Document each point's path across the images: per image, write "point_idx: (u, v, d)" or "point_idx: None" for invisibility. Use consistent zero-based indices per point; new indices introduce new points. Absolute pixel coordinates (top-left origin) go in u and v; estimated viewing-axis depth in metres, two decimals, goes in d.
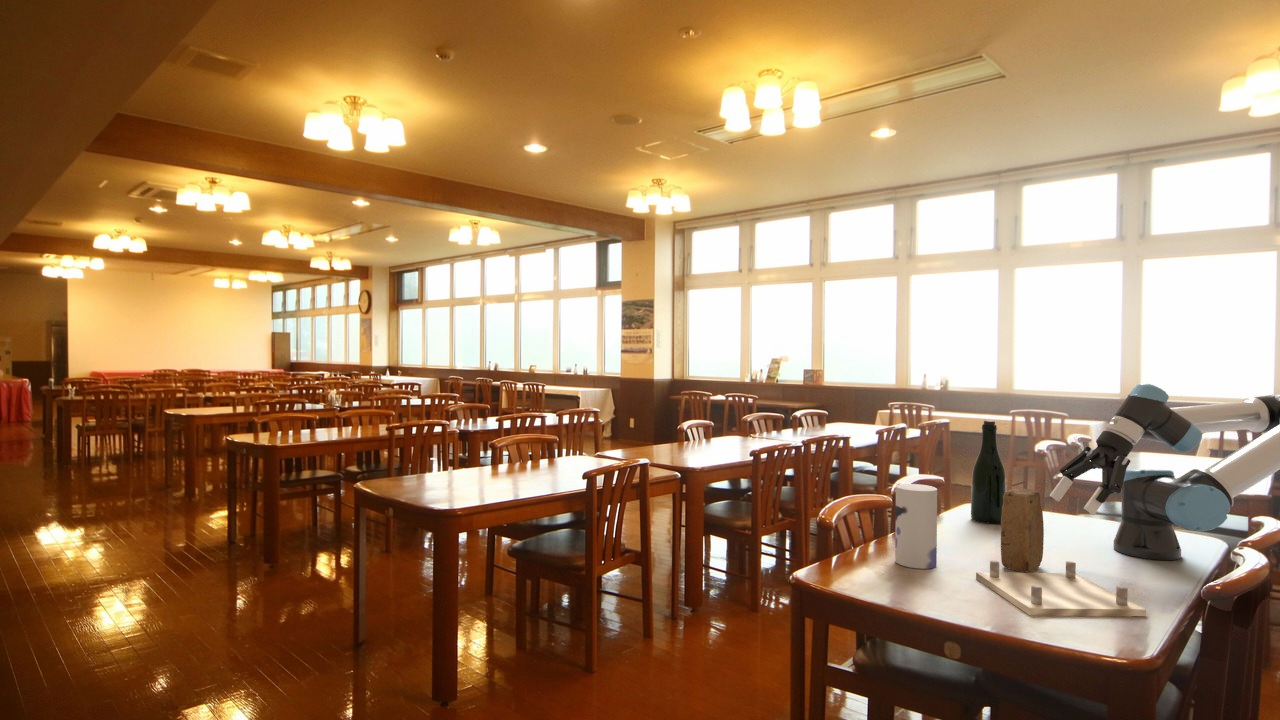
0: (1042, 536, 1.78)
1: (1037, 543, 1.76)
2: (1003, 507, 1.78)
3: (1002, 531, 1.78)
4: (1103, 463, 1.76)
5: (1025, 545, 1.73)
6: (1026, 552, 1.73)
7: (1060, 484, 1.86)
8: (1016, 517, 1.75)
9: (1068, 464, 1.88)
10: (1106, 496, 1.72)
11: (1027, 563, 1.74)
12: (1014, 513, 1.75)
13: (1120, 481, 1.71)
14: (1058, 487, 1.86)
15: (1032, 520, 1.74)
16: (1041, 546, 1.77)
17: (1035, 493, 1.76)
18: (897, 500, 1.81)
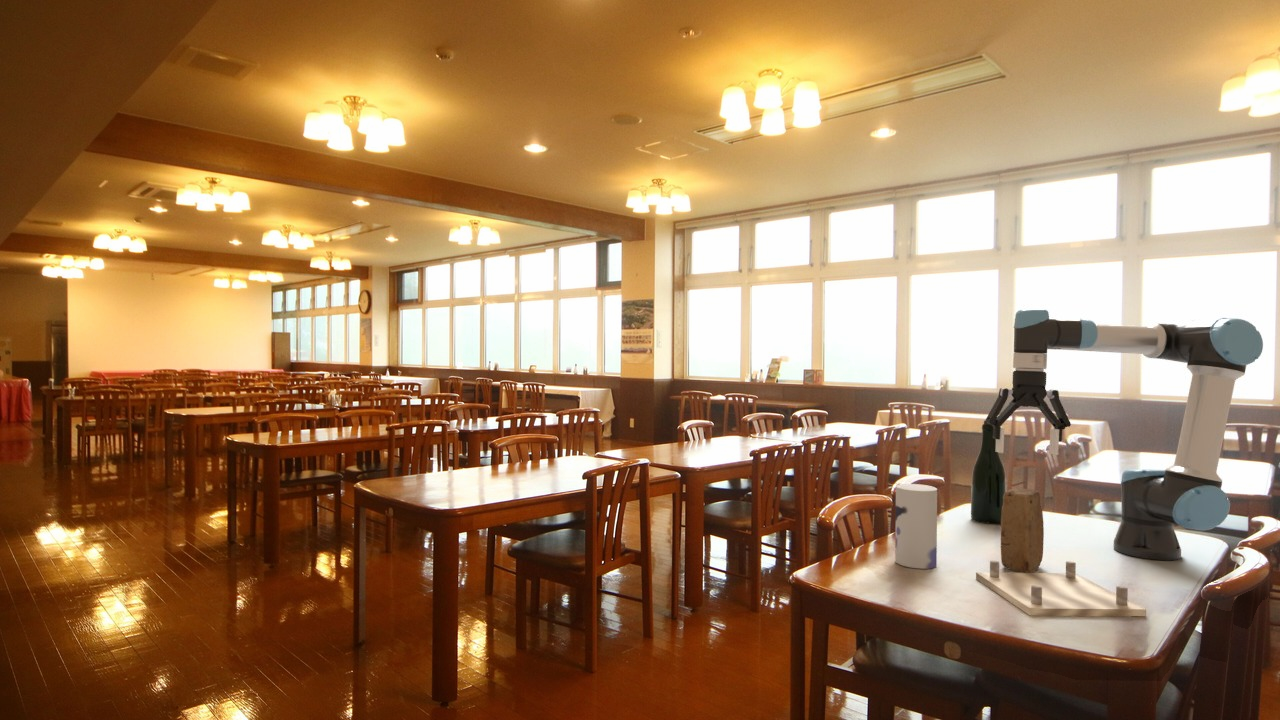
0: (1042, 536, 1.78)
1: (1037, 543, 1.76)
2: (1003, 507, 1.78)
3: (1002, 531, 1.78)
4: (1045, 404, 1.77)
5: (1025, 545, 1.73)
6: (1026, 552, 1.73)
7: None
8: (1015, 517, 1.75)
9: (996, 413, 1.77)
10: None
11: (1027, 563, 1.74)
12: (1014, 513, 1.75)
13: None
14: None
15: (1031, 520, 1.74)
16: (1041, 546, 1.77)
17: (1035, 493, 1.76)
18: (897, 500, 1.81)
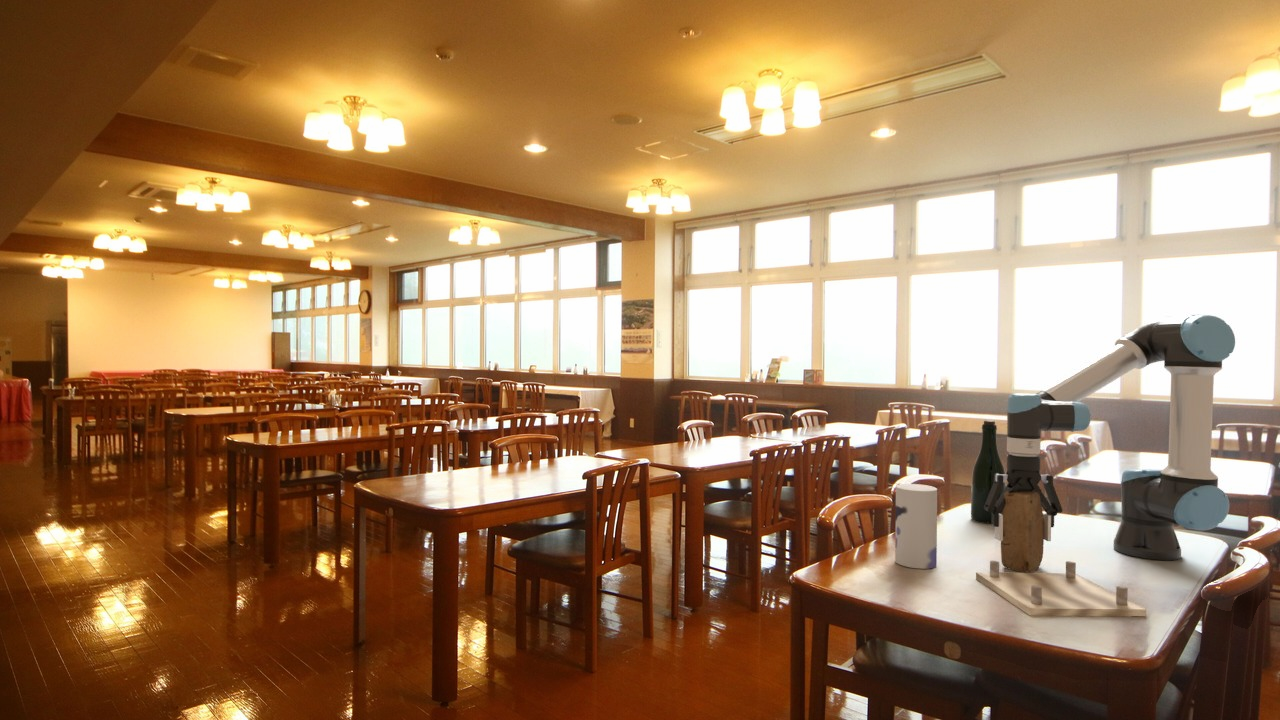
0: (1042, 536, 1.78)
1: (1037, 543, 1.76)
2: None
3: None
4: (1039, 489, 1.77)
5: (1026, 545, 1.73)
6: (1026, 552, 1.73)
7: None
8: (1016, 517, 1.75)
9: (994, 501, 1.77)
10: None
11: (1027, 563, 1.74)
12: (1014, 513, 1.75)
13: None
14: None
15: (1032, 520, 1.74)
16: (1041, 546, 1.77)
17: (1035, 493, 1.76)
18: (897, 500, 1.81)
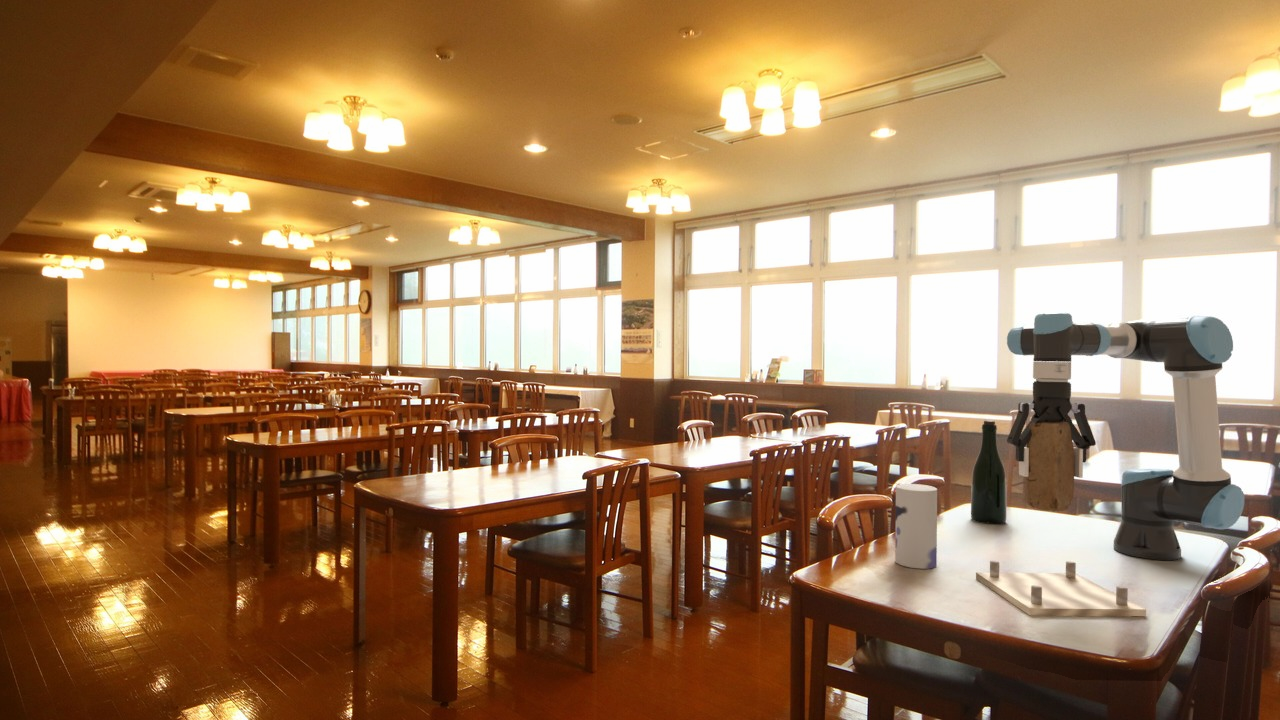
0: (1073, 472, 1.59)
1: (1067, 479, 1.57)
2: None
3: None
4: (1069, 419, 1.58)
5: (1054, 480, 1.54)
6: (1055, 488, 1.54)
7: None
8: (1043, 450, 1.56)
9: (1018, 432, 1.59)
10: None
11: (1056, 500, 1.55)
12: (1042, 445, 1.56)
13: None
14: None
15: (1061, 452, 1.55)
16: (1071, 483, 1.58)
17: (1065, 423, 1.57)
18: (897, 500, 1.81)
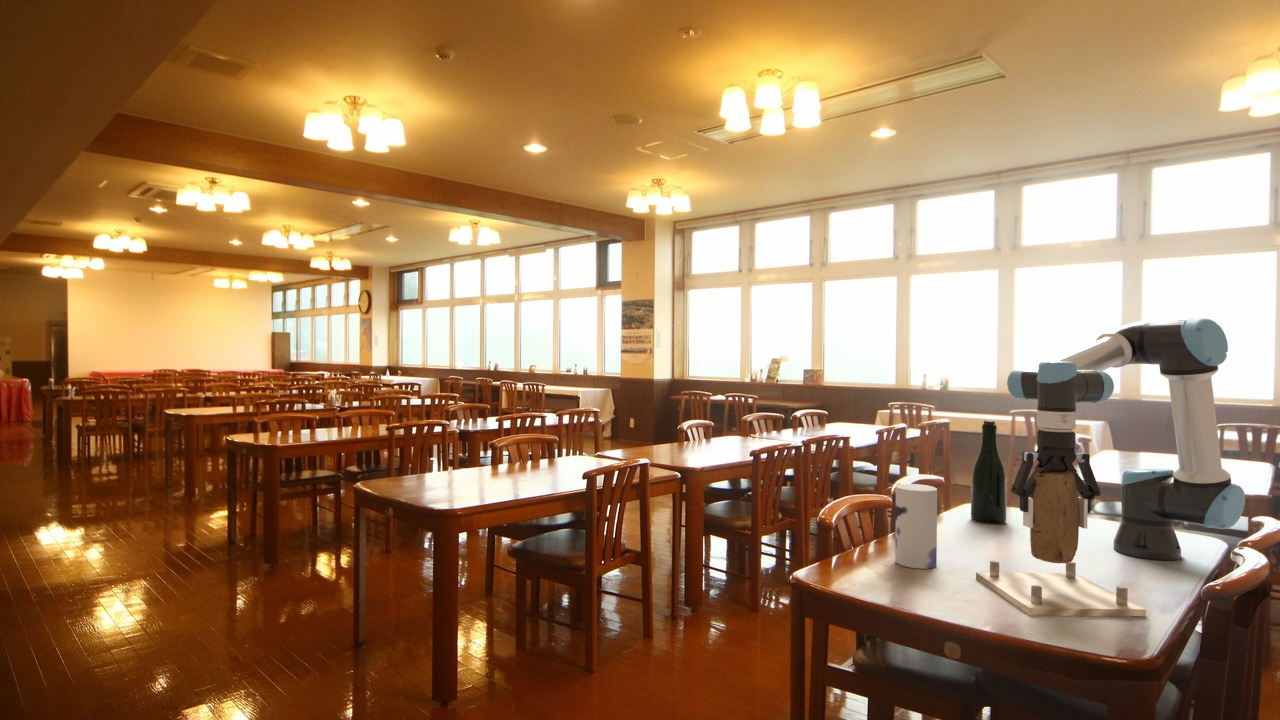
0: (1077, 522, 1.57)
1: (1072, 530, 1.55)
2: None
3: None
4: (1074, 470, 1.56)
5: (1059, 532, 1.52)
6: (1060, 540, 1.52)
7: None
8: (1048, 501, 1.54)
9: (1023, 482, 1.56)
10: None
11: (1061, 553, 1.53)
12: (1046, 496, 1.54)
13: None
14: None
15: (1066, 504, 1.53)
16: (1076, 534, 1.56)
17: (1070, 473, 1.55)
18: (897, 500, 1.81)
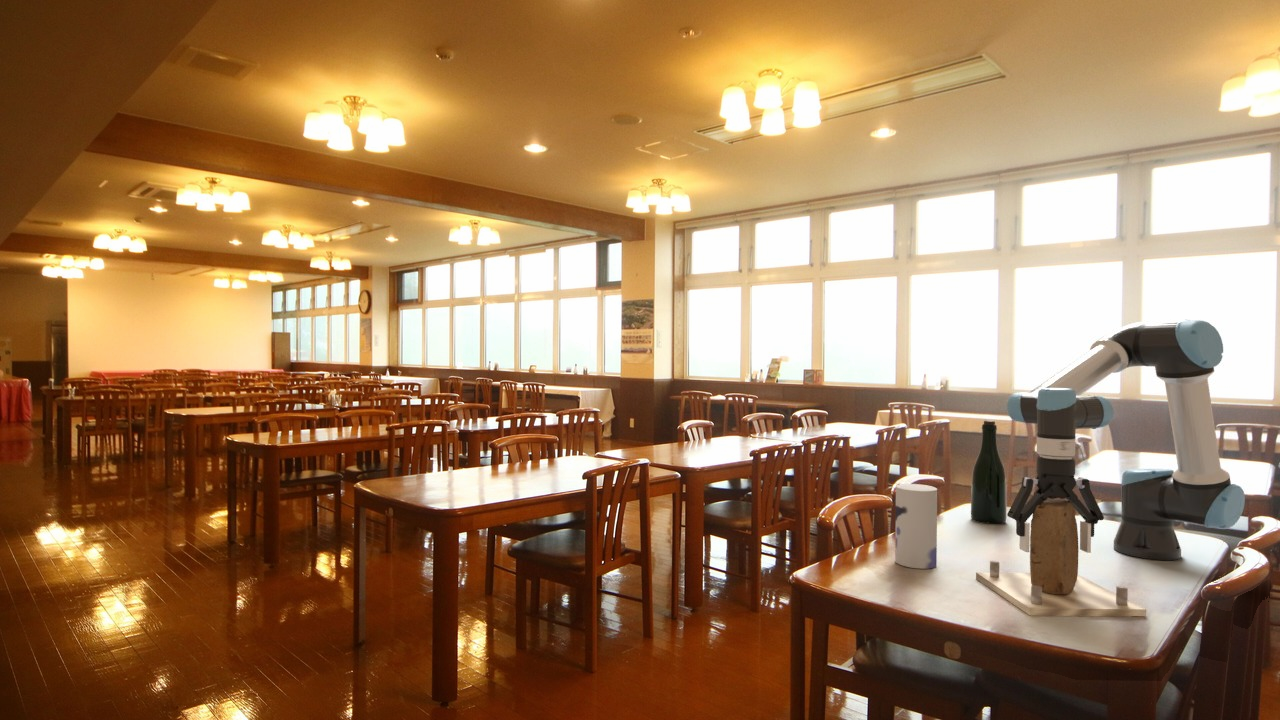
0: (1077, 553, 1.57)
1: (1072, 562, 1.55)
2: (1032, 521, 1.57)
3: (1032, 548, 1.57)
4: (1075, 496, 1.56)
5: (1059, 564, 1.52)
6: (1060, 572, 1.52)
7: None
8: (1048, 532, 1.54)
9: (1020, 507, 1.56)
10: None
11: (1061, 584, 1.53)
12: (1046, 528, 1.54)
13: None
14: None
15: (1066, 535, 1.53)
16: (1076, 564, 1.56)
17: (1069, 504, 1.55)
18: (897, 500, 1.81)
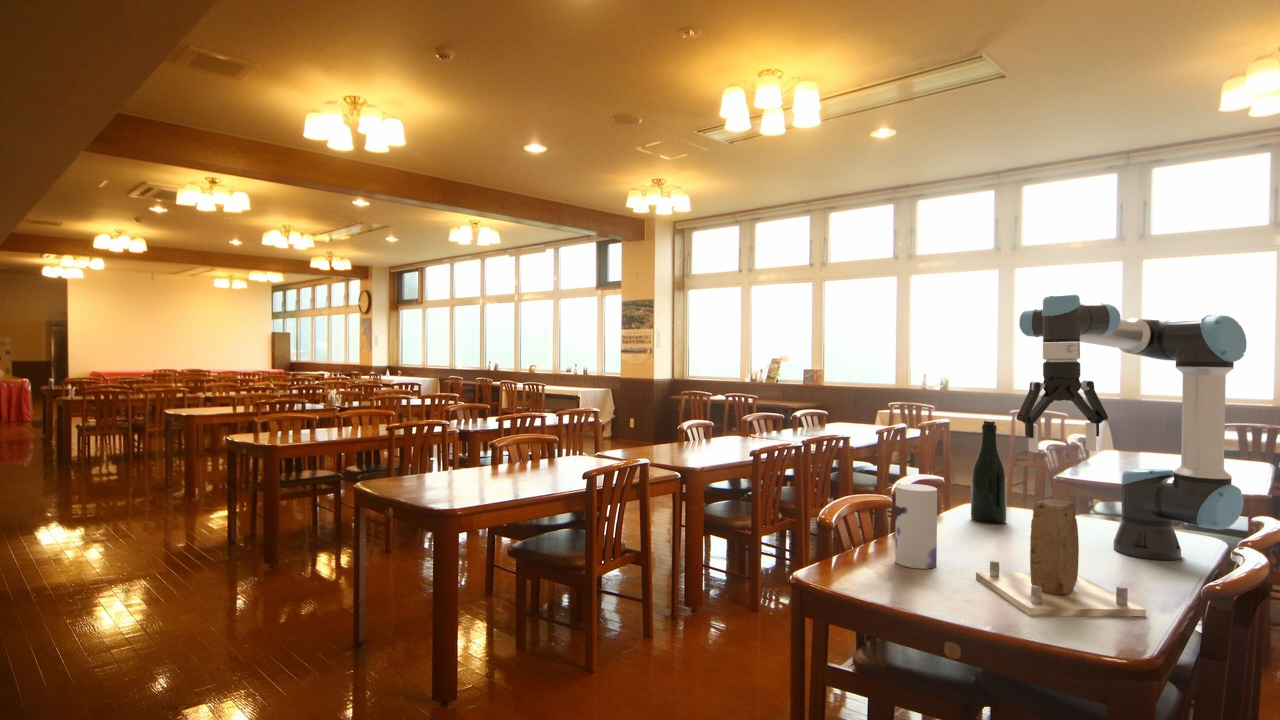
0: (1077, 553, 1.57)
1: (1072, 562, 1.55)
2: (1033, 521, 1.57)
3: (1032, 548, 1.57)
4: (1080, 397, 1.63)
5: (1060, 564, 1.52)
6: (1060, 572, 1.52)
7: None
8: (1048, 533, 1.54)
9: (1029, 410, 1.63)
10: None
11: (1061, 584, 1.53)
12: (1046, 528, 1.54)
13: None
14: None
15: (1066, 536, 1.53)
16: (1076, 565, 1.56)
17: (1070, 505, 1.55)
18: (897, 500, 1.81)
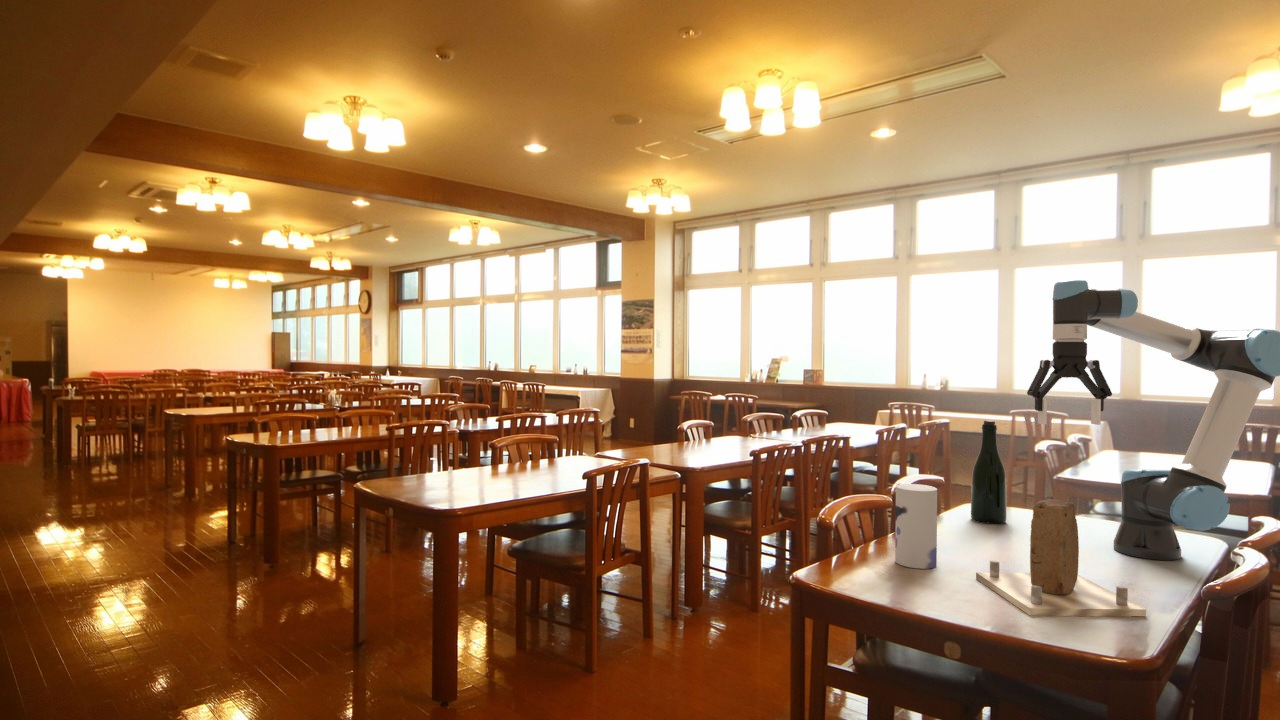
0: (1077, 553, 1.57)
1: (1072, 562, 1.55)
2: (1033, 521, 1.57)
3: (1032, 548, 1.57)
4: (1086, 374, 1.77)
5: (1060, 564, 1.52)
6: (1060, 572, 1.52)
7: None
8: (1048, 533, 1.54)
9: (1038, 385, 1.78)
10: None
11: (1061, 584, 1.53)
12: (1046, 528, 1.54)
13: None
14: None
15: (1066, 536, 1.53)
16: (1076, 565, 1.56)
17: (1070, 505, 1.55)
18: (897, 500, 1.81)
